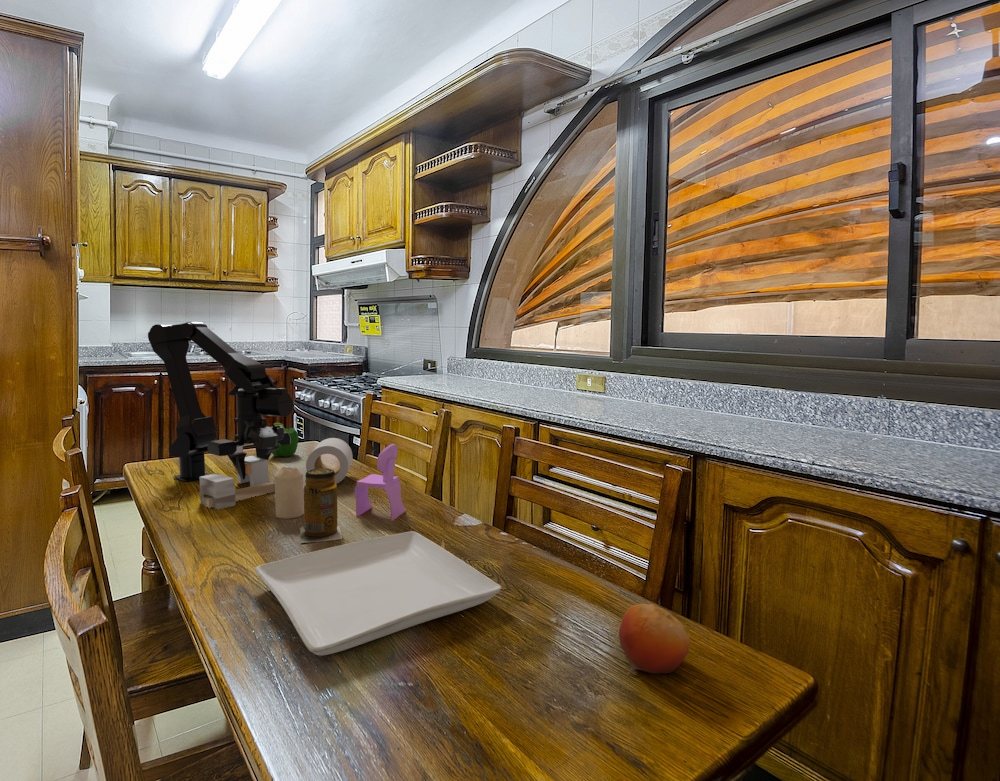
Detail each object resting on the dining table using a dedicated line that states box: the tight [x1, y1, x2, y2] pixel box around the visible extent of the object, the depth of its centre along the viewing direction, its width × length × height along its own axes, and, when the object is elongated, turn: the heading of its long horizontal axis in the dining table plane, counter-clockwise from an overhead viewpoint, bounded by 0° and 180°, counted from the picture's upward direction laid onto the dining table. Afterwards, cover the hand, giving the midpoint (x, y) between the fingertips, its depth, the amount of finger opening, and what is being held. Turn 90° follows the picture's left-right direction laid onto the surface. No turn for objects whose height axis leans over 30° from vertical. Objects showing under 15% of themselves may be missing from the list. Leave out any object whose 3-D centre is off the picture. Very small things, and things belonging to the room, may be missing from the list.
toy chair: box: [354, 443, 406, 521], centre depth 120 cm, size 8×9×15 cm
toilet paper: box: [305, 437, 353, 485], centre depth 145 cm, size 10×10×10 cm
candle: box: [274, 466, 304, 520], centre depth 118 cm, size 6×6×10 cm
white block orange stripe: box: [236, 455, 270, 487], centre depth 140 cm, size 7×4×6 cm, turn 55°
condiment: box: [299, 467, 343, 544], centre depth 108 cm, size 7×8×12 cm
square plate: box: [254, 530, 502, 656], centre depth 84 cm, size 27×27×4 cm
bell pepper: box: [271, 422, 299, 457], centre depth 171 cm, size 8×8×10 cm
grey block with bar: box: [198, 472, 275, 511], centre depth 130 cm, size 7×18×6 cm, turn 145°
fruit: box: [618, 603, 691, 676], centre depth 67 cm, size 8×8×8 cm
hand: (252, 477), depth 141 cm, fingers closed on white block orange stripe, 4 cm apart
